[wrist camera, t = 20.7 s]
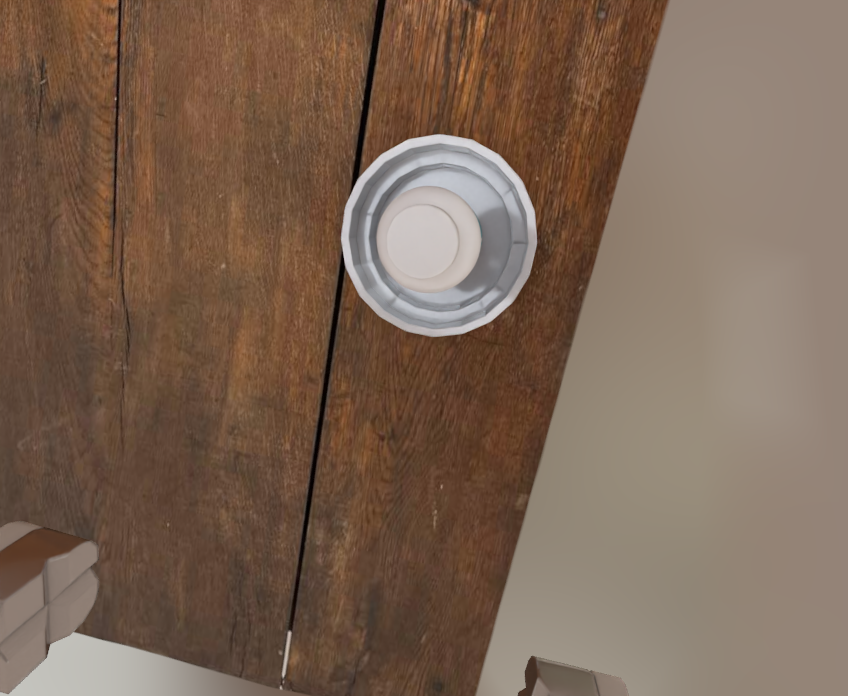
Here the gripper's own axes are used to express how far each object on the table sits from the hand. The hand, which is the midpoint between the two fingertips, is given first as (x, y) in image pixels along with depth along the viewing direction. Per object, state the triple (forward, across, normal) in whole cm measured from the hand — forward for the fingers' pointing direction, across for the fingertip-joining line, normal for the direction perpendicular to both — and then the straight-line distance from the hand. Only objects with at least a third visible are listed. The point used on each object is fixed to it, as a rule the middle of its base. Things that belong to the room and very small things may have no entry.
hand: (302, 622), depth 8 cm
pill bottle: (+37, +2, -6) cm, 37 cm away
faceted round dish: (+37, +2, -6) cm, 38 cm away
